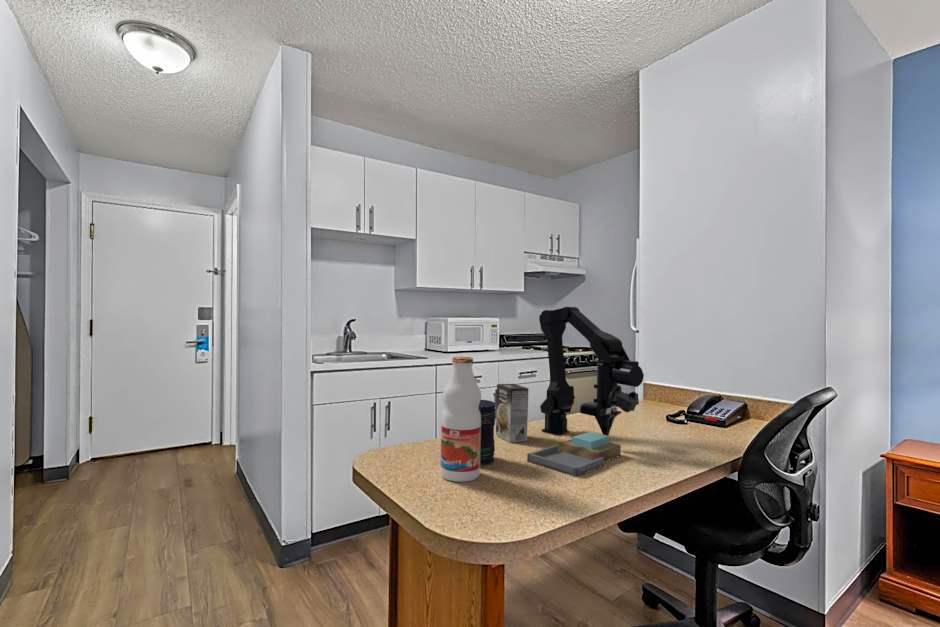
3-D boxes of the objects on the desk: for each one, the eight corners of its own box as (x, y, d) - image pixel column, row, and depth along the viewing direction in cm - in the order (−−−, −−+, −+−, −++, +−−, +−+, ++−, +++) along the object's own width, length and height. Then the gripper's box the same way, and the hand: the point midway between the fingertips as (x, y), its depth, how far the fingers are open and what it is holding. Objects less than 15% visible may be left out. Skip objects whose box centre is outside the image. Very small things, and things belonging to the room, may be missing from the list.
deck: (560, 453, 134) (560, 442, 134) (582, 446, 142) (583, 435, 141) (598, 464, 125) (599, 452, 125) (620, 455, 133) (620, 445, 133)
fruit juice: (486, 472, 117) (488, 357, 117) (470, 485, 108) (472, 360, 108) (451, 466, 121) (453, 354, 121) (433, 478, 112) (435, 358, 112)
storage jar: (491, 467, 121) (492, 408, 121) (452, 464, 123) (454, 405, 123) (497, 455, 131) (498, 400, 130) (461, 452, 133) (462, 398, 132)
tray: (527, 461, 126) (527, 453, 126) (555, 452, 135) (556, 444, 135) (576, 476, 116) (576, 468, 116) (603, 465, 124) (604, 458, 124)
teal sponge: (571, 444, 132) (572, 437, 132) (590, 438, 139) (590, 431, 139) (591, 449, 128) (591, 441, 128) (608, 443, 134) (609, 436, 134)
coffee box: (494, 435, 151) (495, 383, 151) (512, 433, 154) (513, 382, 154) (509, 443, 143) (510, 388, 143) (527, 441, 146) (529, 387, 145)
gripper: (616, 388, 126) (614, 448, 127) (649, 382, 139) (648, 436, 139) (579, 383, 134) (578, 439, 135) (614, 377, 147) (612, 428, 148)
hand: (605, 435), depth 139 cm, fingers closed
